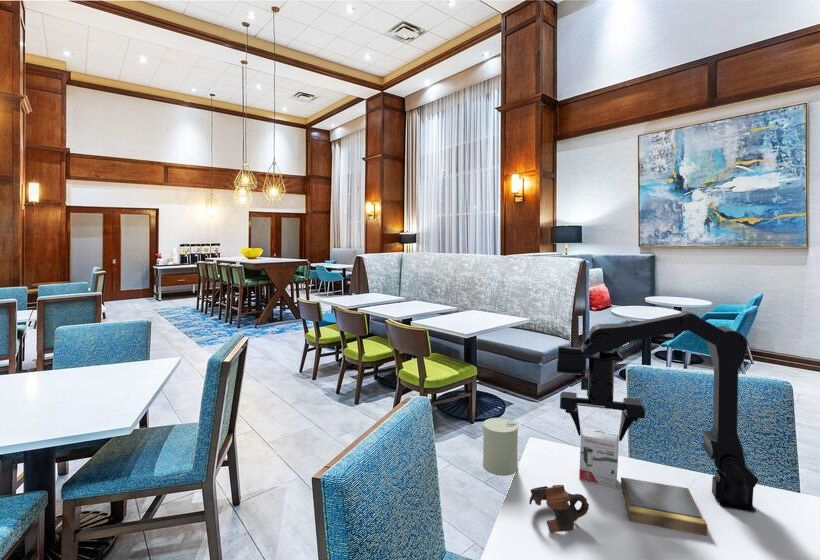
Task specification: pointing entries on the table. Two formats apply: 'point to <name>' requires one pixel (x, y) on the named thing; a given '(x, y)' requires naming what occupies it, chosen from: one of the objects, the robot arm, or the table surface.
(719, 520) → the table surface
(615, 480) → the ink box
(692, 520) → the framed panel
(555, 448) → the table surface
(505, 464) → the can
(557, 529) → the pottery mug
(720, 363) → the robot arm
